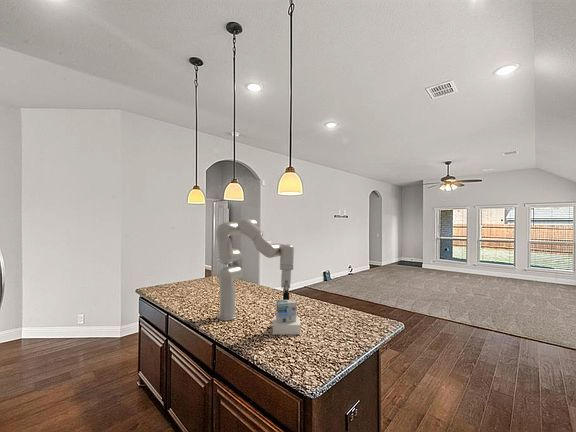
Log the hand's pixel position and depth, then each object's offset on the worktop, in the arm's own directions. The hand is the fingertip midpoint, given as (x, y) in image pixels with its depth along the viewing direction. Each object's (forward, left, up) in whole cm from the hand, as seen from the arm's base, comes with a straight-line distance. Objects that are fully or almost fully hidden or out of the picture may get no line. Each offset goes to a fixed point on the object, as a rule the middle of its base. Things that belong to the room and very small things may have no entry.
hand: (286, 297), depth 157 cm
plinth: (0, 0, -18) cm, 18 cm away
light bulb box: (0, 0, -13) cm, 13 cm away
